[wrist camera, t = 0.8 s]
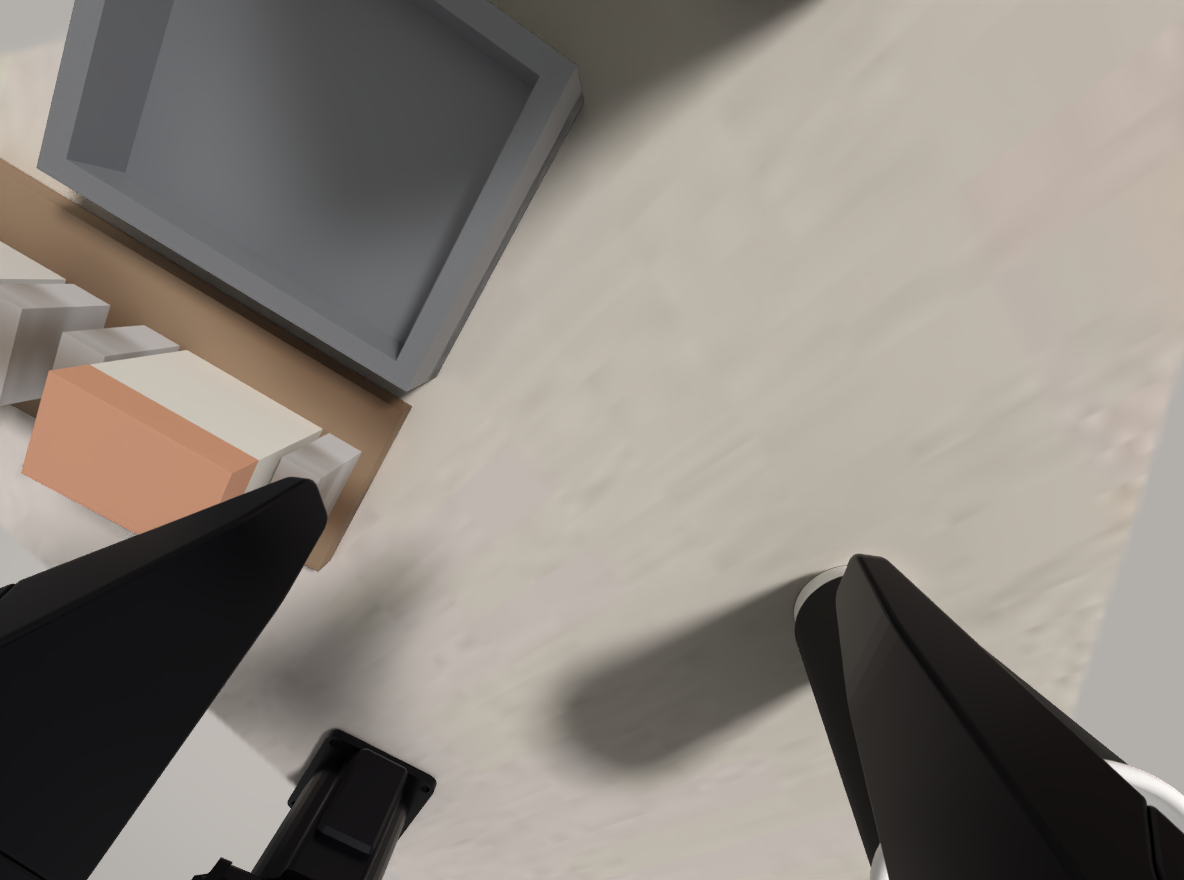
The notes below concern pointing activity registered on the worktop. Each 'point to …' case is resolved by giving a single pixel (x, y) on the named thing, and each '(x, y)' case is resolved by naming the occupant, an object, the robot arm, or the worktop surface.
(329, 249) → the tray
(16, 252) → the block
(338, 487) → the board
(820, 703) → the dixie cup
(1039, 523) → the worktop surface
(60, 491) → the block
